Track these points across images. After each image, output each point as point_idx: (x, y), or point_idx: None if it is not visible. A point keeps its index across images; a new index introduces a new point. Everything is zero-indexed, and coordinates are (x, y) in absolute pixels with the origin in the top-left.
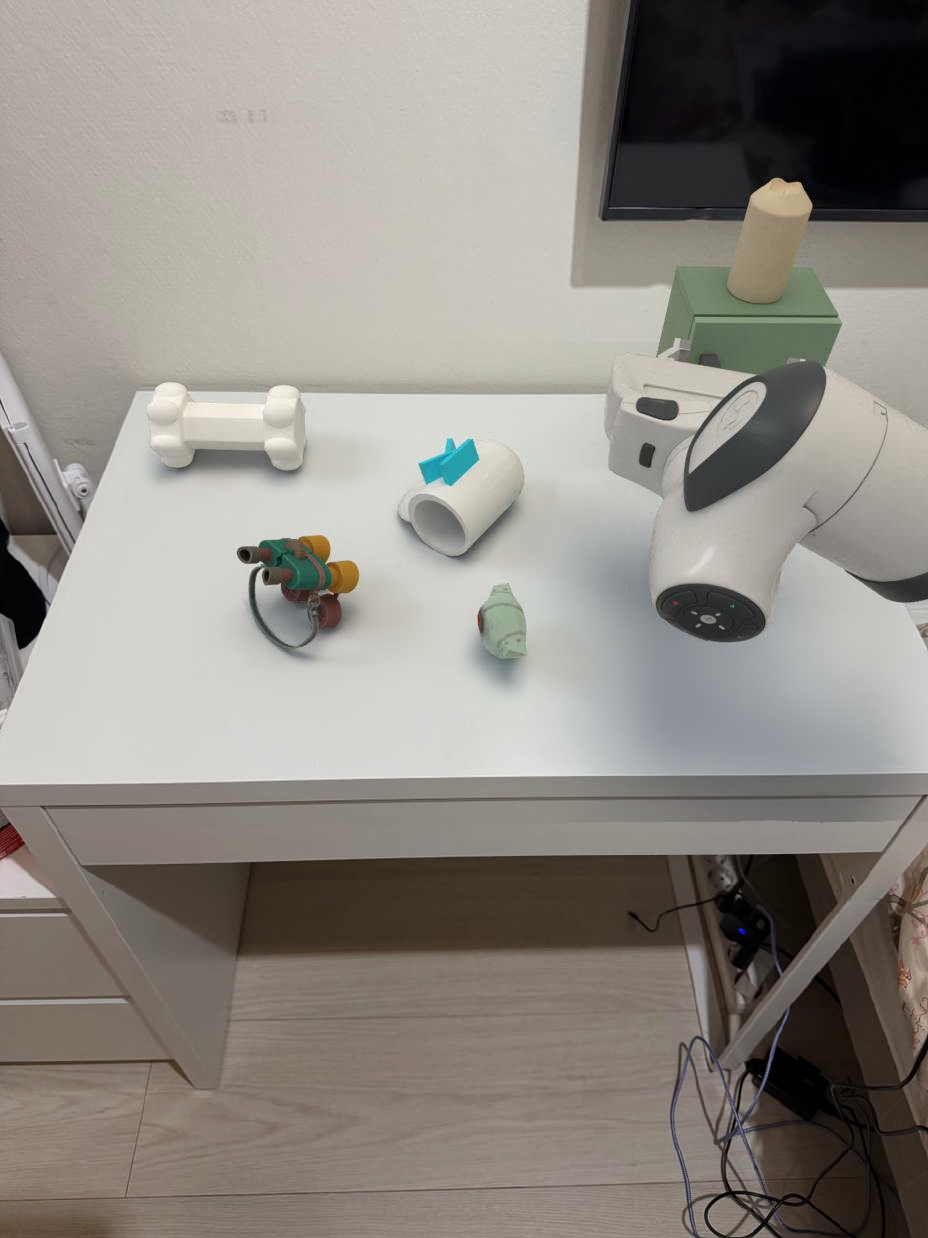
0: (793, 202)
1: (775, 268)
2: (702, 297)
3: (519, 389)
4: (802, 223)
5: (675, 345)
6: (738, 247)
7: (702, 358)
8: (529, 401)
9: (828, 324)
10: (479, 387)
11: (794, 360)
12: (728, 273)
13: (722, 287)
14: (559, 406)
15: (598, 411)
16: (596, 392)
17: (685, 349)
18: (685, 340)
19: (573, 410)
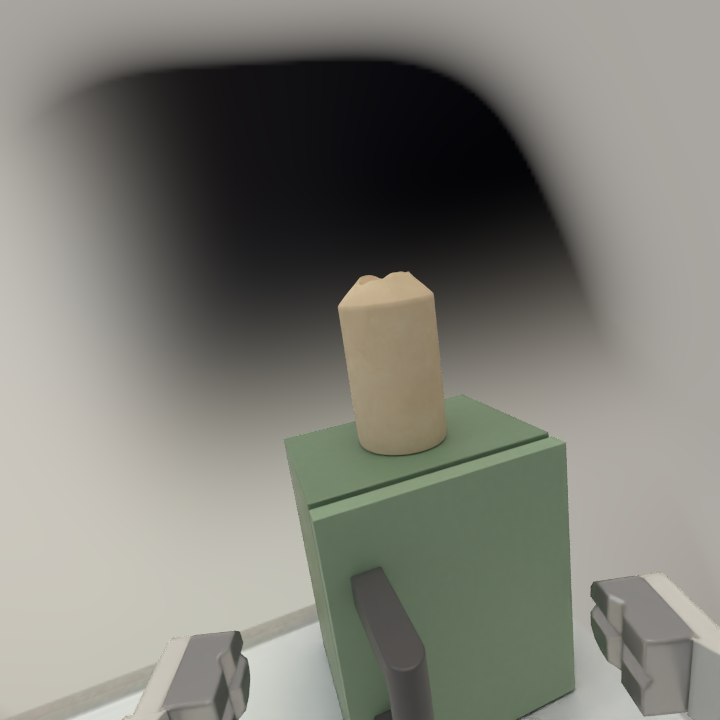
0: (401, 283)
1: (419, 390)
2: (322, 470)
3: (125, 685)
4: (429, 312)
5: (149, 695)
6: (350, 380)
7: (354, 588)
8: (133, 710)
9: (546, 451)
10: (54, 708)
11: (636, 594)
12: None
13: (353, 447)
14: None
15: (249, 688)
16: (250, 644)
17: (188, 707)
18: (206, 642)
19: None
